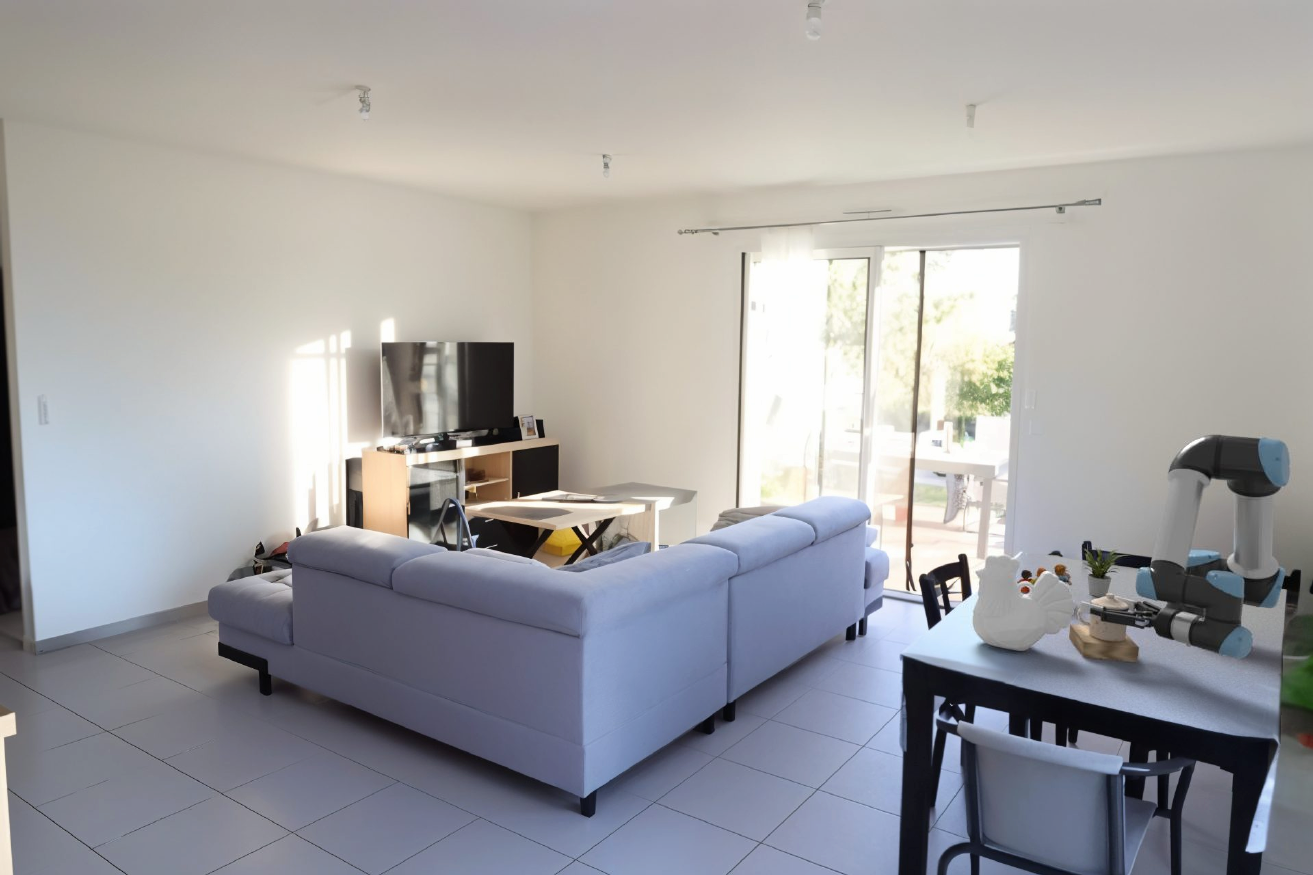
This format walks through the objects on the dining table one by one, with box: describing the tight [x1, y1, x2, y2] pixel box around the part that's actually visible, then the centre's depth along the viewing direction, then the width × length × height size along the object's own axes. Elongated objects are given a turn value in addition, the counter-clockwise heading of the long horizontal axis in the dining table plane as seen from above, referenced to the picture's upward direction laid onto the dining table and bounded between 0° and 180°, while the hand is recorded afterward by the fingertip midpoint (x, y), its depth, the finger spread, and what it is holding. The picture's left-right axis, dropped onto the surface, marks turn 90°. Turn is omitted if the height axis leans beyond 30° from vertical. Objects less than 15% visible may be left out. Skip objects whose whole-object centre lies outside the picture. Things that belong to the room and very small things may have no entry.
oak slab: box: [1068, 623, 1140, 663], centre depth 228 cm, size 13×15×4 cm
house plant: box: [1081, 547, 1130, 598], centre depth 282 cm, size 14×14×16 cm
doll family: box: [1016, 563, 1073, 594], centre depth 268 cm, size 21×10×13 cm, turn 108°
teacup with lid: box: [1076, 592, 1130, 642], centre depth 227 cm, size 12×9×12 cm
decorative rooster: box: [972, 553, 1077, 652], centre depth 226 cm, size 25×16×25 cm, turn 66°
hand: (1095, 603), depth 230 cm, fingers open, 13 cm apart
